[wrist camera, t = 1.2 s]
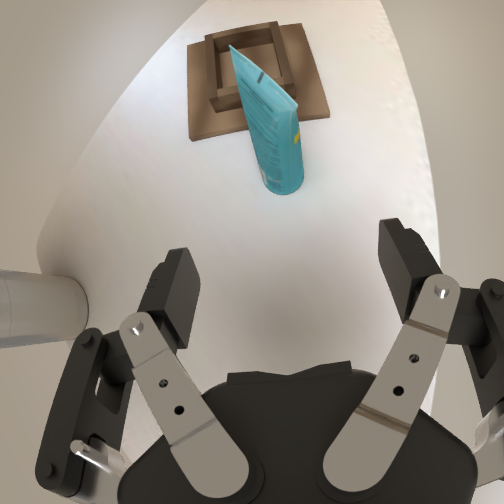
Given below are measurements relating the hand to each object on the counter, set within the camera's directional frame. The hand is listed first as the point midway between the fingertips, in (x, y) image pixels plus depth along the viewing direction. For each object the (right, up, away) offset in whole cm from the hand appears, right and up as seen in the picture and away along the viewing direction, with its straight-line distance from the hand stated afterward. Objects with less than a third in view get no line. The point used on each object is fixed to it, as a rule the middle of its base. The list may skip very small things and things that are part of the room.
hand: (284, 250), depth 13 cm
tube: (+2, +9, +24) cm, 25 cm away
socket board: (-1, +25, +26) cm, 36 cm away
